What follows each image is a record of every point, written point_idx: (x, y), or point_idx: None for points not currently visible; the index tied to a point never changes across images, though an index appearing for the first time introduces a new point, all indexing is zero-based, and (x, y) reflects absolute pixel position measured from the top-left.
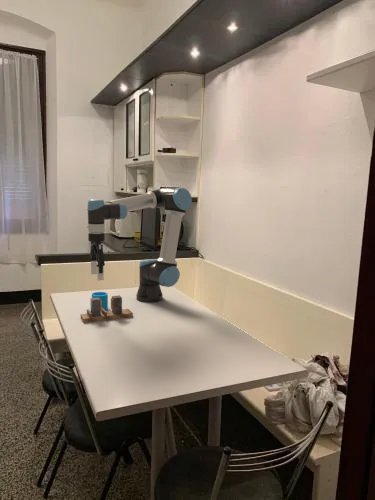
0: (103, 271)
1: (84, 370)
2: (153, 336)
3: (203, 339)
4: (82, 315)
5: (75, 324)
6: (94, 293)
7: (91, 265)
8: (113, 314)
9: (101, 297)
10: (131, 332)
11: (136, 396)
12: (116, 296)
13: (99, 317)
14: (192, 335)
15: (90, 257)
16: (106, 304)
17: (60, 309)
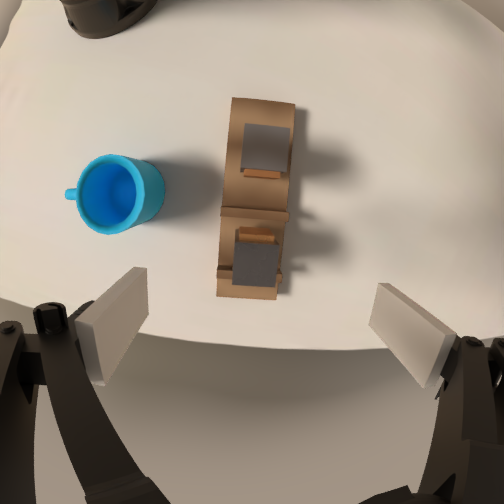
0: (425, 310)
1: (487, 335)
2: (459, 151)
3: (490, 79)
4: (234, 293)
5: (274, 320)
6: (89, 215)
7: (120, 355)
8: (278, 179)
9: (147, 195)
10: (420, 185)
11: None
12: (258, 146)
13: (282, 240)
14: (473, 76)
15: (37, 391)
16: (150, 168)
17: None
